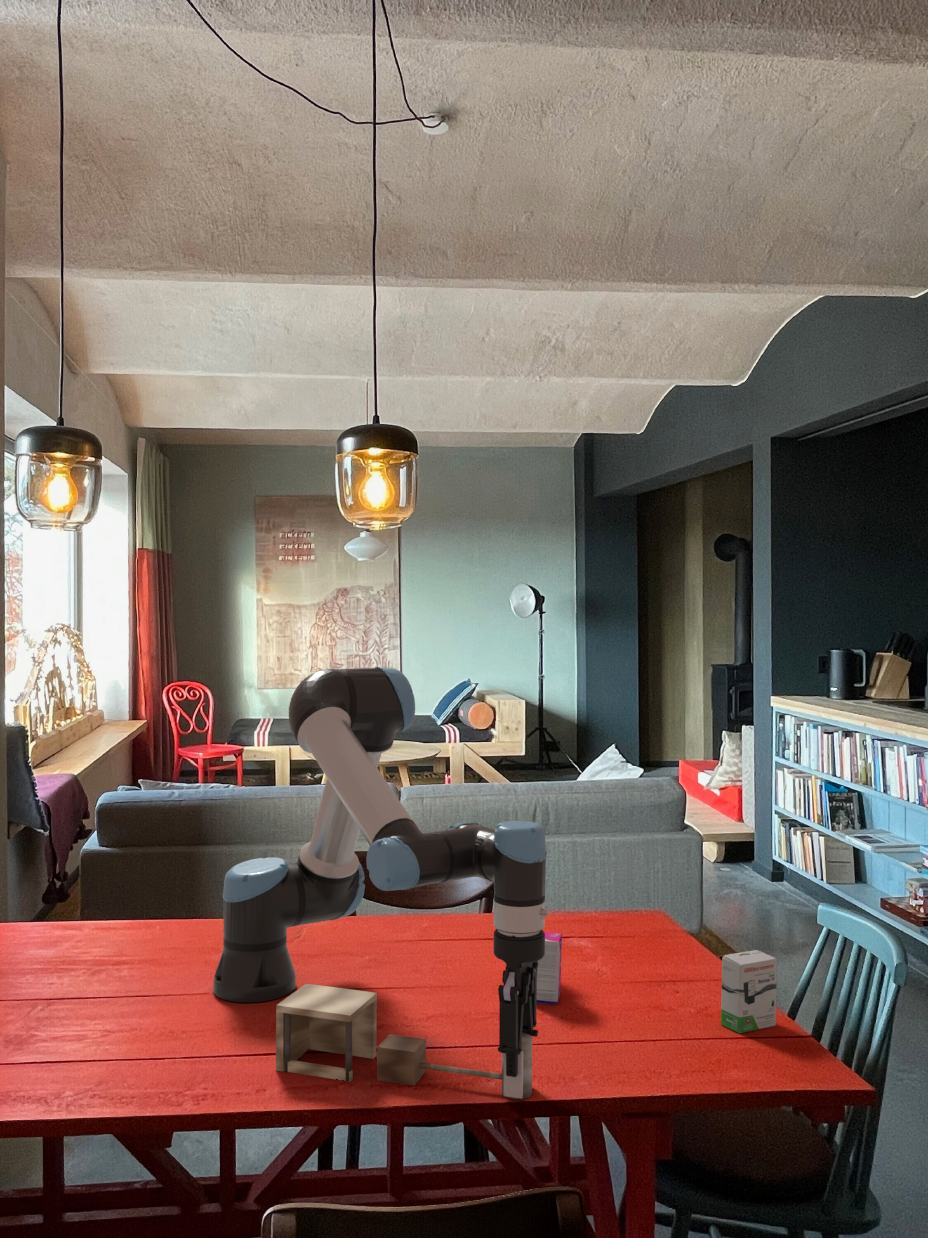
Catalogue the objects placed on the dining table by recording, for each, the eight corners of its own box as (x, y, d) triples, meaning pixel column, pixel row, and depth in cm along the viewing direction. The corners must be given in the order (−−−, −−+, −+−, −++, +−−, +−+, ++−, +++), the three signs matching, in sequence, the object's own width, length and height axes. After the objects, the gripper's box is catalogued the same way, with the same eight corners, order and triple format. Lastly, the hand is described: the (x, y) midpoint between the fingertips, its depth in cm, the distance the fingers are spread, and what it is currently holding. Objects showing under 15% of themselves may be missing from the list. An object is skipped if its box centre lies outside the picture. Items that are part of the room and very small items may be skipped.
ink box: (739, 1035, 174) (739, 964, 174) (719, 1024, 179) (719, 955, 179) (778, 1026, 178) (778, 956, 178) (757, 1016, 183) (758, 948, 183)
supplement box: (558, 1005, 187) (558, 941, 187) (525, 1003, 188) (526, 939, 188) (562, 994, 193) (562, 932, 193) (530, 991, 194) (530, 930, 194)
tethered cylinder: (377, 1080, 156) (377, 1027, 156) (389, 1066, 161) (389, 1015, 161) (527, 1102, 149) (527, 1046, 149) (535, 1087, 154) (535, 1033, 154)
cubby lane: (275, 1070, 159) (276, 1005, 159) (305, 1045, 169) (306, 983, 169) (349, 1082, 155) (350, 1015, 155) (376, 1056, 165) (376, 993, 165)
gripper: (528, 950, 143) (527, 1120, 143) (558, 916, 159) (556, 1068, 159) (476, 944, 145) (475, 1111, 145) (510, 911, 162) (509, 1061, 162)
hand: (517, 1088), depth 152 cm, fingers closed on tethered cylinder, 4 cm apart
